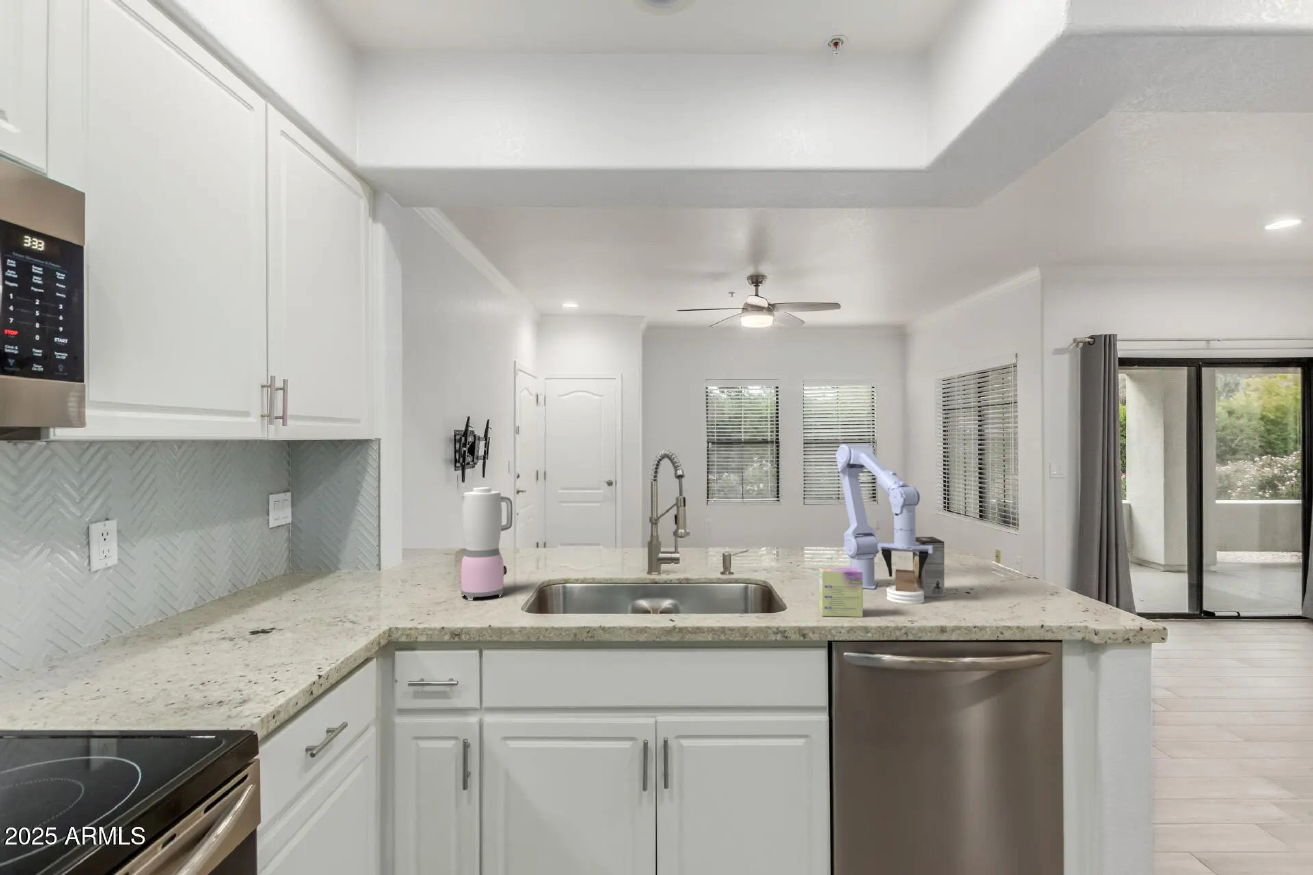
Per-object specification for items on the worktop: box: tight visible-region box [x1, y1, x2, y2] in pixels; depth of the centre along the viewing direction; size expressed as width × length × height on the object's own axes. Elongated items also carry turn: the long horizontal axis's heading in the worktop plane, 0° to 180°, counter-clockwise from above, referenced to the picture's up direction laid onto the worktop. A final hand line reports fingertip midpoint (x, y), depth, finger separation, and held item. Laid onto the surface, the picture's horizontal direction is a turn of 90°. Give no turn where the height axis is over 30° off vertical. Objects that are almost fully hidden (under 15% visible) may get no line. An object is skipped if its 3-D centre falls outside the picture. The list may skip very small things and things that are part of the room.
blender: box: [460, 486, 513, 599], centre depth 196 cm, size 16×12×32 cm
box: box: [818, 566, 864, 618], centre depth 172 cm, size 10×6×12 cm, turn 84°
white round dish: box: [886, 585, 925, 605], centre depth 187 cm, size 10×10×4 cm
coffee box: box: [912, 536, 945, 598], centre depth 195 cm, size 9×6×16 cm
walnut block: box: [894, 568, 915, 592], centre depth 187 cm, size 5×5×5 cm
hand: (905, 577), depth 187 cm, fingers open, 7 cm apart
